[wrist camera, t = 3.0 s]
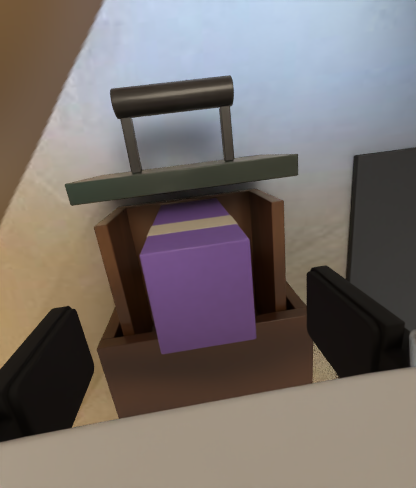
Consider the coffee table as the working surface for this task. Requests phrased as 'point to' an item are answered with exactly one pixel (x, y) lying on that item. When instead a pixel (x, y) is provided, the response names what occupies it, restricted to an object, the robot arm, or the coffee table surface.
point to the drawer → (180, 179)
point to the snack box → (198, 277)
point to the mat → (385, 231)
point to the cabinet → (207, 364)
